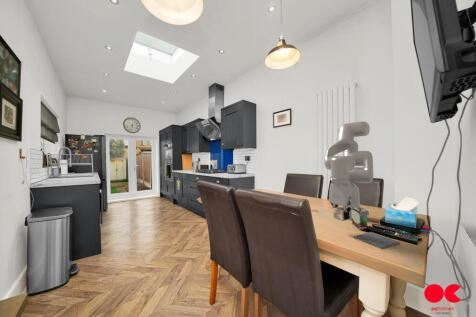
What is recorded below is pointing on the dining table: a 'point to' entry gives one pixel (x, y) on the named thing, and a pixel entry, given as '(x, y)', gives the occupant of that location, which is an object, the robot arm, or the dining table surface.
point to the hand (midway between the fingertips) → (341, 217)
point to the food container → (359, 217)
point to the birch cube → (339, 213)
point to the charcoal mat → (377, 240)
